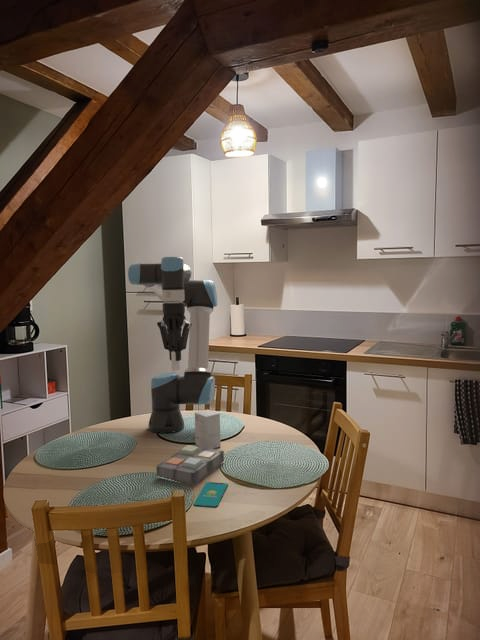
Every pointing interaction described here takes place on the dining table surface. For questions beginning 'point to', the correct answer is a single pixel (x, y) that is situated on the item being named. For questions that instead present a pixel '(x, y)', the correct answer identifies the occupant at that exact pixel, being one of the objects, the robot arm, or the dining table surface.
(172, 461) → the key terracotta
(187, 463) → the key blue
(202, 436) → the small box
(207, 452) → the key ivory
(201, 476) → the keypad
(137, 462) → the dining table surface
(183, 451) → the key sage
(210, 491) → the smartphone
